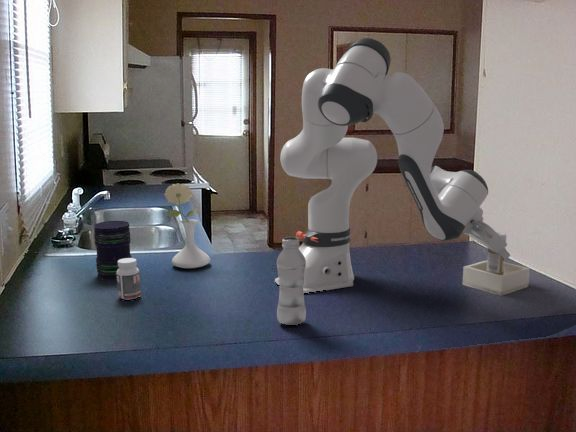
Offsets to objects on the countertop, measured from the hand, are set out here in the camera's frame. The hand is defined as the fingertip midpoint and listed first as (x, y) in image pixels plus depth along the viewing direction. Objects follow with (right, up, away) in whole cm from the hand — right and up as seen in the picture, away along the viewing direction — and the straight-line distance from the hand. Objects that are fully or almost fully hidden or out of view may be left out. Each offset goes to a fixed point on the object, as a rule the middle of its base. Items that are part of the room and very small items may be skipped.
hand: (499, 252), depth 176 cm
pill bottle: (-96, -12, -4) cm, 97 cm away
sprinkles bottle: (-1, -8, +1) cm, 8 cm away
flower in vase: (-85, -6, +24) cm, 89 cm away
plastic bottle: (-55, -15, -23) cm, 62 cm away
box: (-1, -9, +2) cm, 9 cm away
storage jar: (-105, -8, +16) cm, 106 cm away
